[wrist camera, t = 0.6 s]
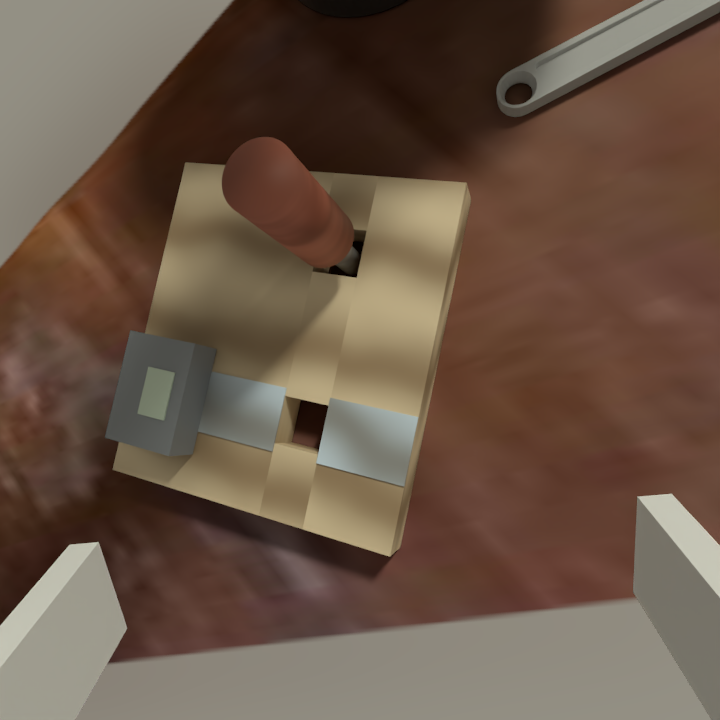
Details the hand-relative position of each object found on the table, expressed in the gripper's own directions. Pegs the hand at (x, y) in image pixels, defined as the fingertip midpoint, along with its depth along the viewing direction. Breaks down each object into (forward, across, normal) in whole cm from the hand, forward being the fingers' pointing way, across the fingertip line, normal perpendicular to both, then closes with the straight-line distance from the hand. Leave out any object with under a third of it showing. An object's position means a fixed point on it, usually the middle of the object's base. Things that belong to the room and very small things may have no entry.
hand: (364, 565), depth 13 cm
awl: (+25, -1, +4) cm, 25 cm away
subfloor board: (+24, -6, -1) cm, 24 cm away
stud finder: (+22, -14, -3) cm, 26 cm away
